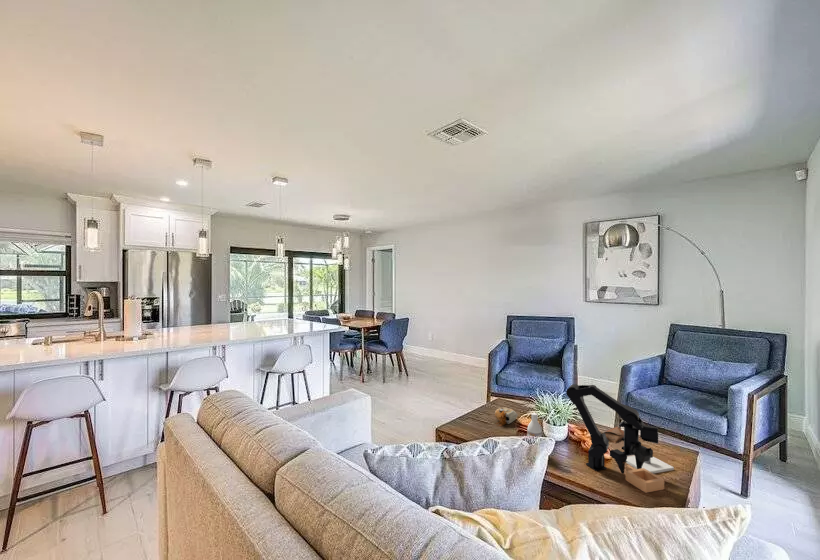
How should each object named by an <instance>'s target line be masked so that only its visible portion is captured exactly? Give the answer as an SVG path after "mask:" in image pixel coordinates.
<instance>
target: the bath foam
mask: <svg viewBox="0 0 820 560" xmlns="http://www.w3.org/2000/svg"><path fill="white" fill-rule="evenodd" d="M538 415H539V414H538V413H535V412H532V413H531V421H530V422H529V423H528V426H527V428H526V429H527V432H526V437H527V436H542V437H543V435H542V433H543V430H542V427H541V426H542V425H540V423H539V421H538V420H539V419H538Z"/></svg>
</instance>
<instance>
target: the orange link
mask: <svg viewBox="0 0 820 560" xmlns="http://www.w3.org/2000/svg"><path fill="white" fill-rule="evenodd" d="M625 481H627V482H628V483H629V484H631V485H632V486H634V487H636V488H637V489H639V490H640V491H642V492H643V493H645V494H646V493H653V492H657V491H662V490H665V479H664V478H662V477H660V476H659V475H657V474H656V473H654V474H653V473H651V472H650V471H648V470H646V469H644V468H641V469H636V468H634V467H633V466H631V465H629V464H625Z"/></svg>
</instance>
